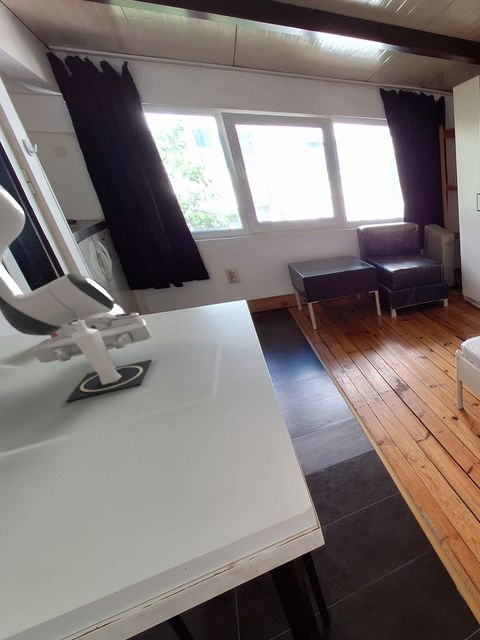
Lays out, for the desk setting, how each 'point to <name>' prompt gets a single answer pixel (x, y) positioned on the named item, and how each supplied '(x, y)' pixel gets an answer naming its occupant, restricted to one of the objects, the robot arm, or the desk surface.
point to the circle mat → (130, 378)
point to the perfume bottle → (95, 352)
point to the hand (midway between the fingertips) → (91, 351)
